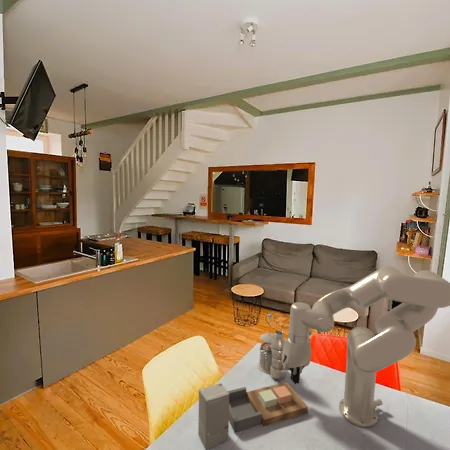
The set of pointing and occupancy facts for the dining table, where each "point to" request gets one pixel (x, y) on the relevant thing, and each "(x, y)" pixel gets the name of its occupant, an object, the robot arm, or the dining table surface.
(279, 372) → the metal bottle
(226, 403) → the skincare box
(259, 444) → the dining table surface
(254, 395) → the walnut plate
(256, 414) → the box
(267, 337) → the french press
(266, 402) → the tile
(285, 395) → the tile
